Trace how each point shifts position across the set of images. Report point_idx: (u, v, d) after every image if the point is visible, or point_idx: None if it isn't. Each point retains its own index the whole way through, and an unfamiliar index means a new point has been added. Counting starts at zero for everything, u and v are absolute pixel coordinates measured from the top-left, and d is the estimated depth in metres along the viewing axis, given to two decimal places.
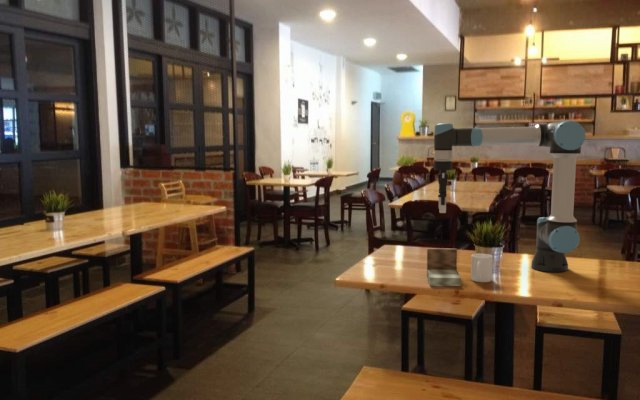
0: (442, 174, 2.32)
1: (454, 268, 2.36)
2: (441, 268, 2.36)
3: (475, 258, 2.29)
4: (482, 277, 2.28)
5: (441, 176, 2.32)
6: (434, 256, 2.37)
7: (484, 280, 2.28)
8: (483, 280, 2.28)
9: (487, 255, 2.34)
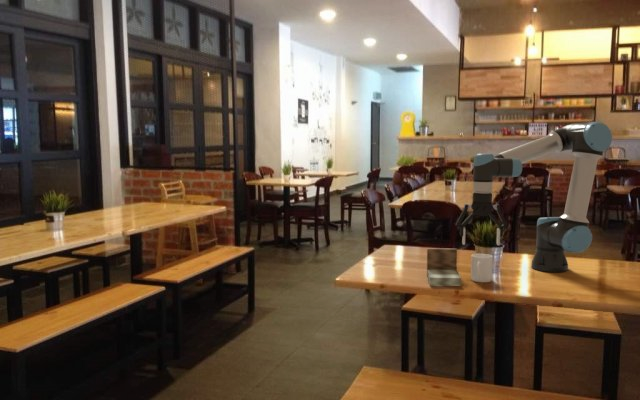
0: (464, 205, 2.28)
1: (454, 268, 2.36)
2: (441, 268, 2.36)
3: (475, 258, 2.29)
4: (482, 277, 2.28)
5: (464, 207, 2.29)
6: (434, 256, 2.37)
7: (484, 280, 2.28)
8: (483, 280, 2.28)
9: (487, 255, 2.34)
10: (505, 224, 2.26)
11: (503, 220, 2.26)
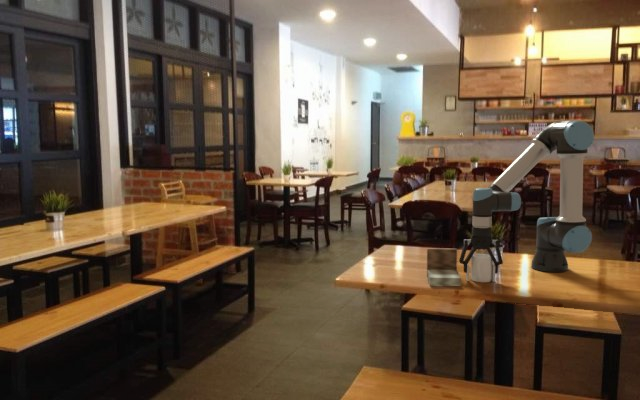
0: (464, 241, 2.30)
1: (454, 268, 2.36)
2: (441, 268, 2.36)
3: (475, 258, 2.29)
4: (482, 277, 2.28)
5: None
6: (434, 256, 2.37)
7: (484, 280, 2.28)
8: (483, 280, 2.28)
9: (487, 255, 2.34)
10: (500, 261, 2.28)
11: (499, 256, 2.28)
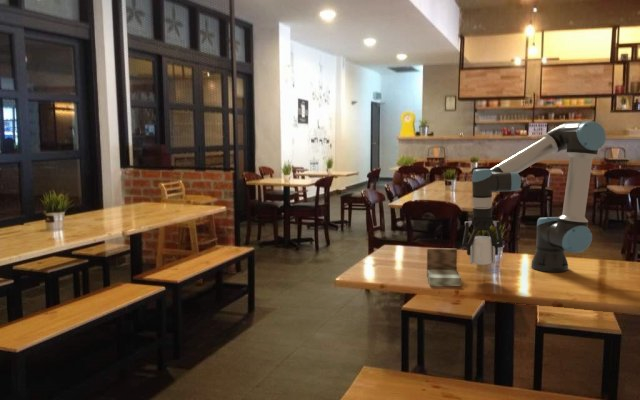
0: (465, 223, 2.29)
1: (454, 268, 2.36)
2: (441, 268, 2.36)
3: (475, 240, 2.28)
4: (482, 259, 2.28)
5: (465, 225, 2.30)
6: (434, 256, 2.37)
7: (484, 262, 2.28)
8: (483, 262, 2.28)
9: (487, 237, 2.33)
10: (500, 242, 2.27)
11: (499, 238, 2.27)
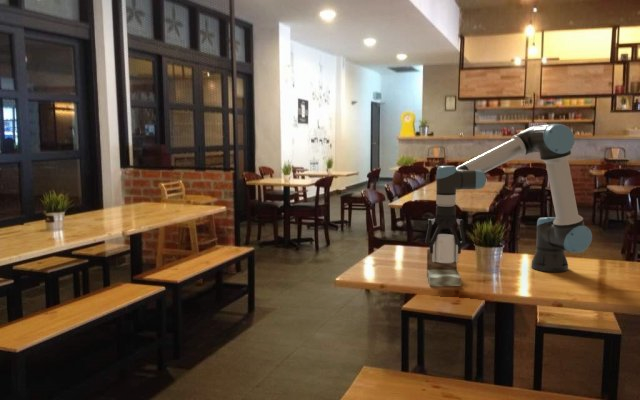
0: (428, 220, 2.25)
1: (454, 268, 2.36)
2: (441, 268, 2.36)
3: (438, 238, 2.24)
4: (444, 257, 2.23)
5: (428, 222, 2.26)
6: None
7: (447, 261, 2.24)
8: (445, 261, 2.24)
9: (451, 235, 2.29)
10: (463, 241, 2.23)
11: (462, 236, 2.23)
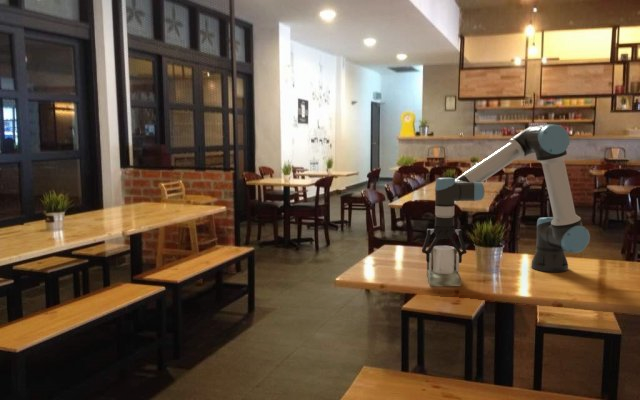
0: (427, 230, 2.29)
1: (454, 268, 2.36)
2: None
3: (437, 249, 2.28)
4: (443, 269, 2.28)
5: None
6: None
7: (445, 272, 2.28)
8: (444, 272, 2.28)
9: (450, 247, 2.33)
10: (464, 250, 2.27)
11: (463, 246, 2.27)
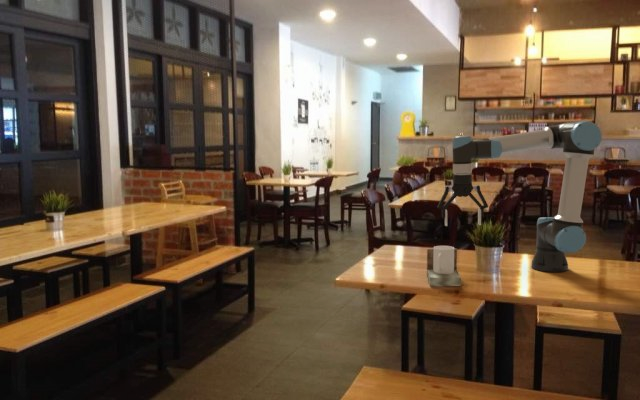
0: (445, 187, 2.34)
1: (454, 268, 2.36)
2: None
3: (437, 249, 2.28)
4: (443, 269, 2.28)
5: (445, 189, 2.34)
6: None
7: (445, 272, 2.28)
8: (444, 272, 2.28)
9: (450, 247, 2.33)
10: (485, 204, 2.31)
11: (483, 200, 2.31)
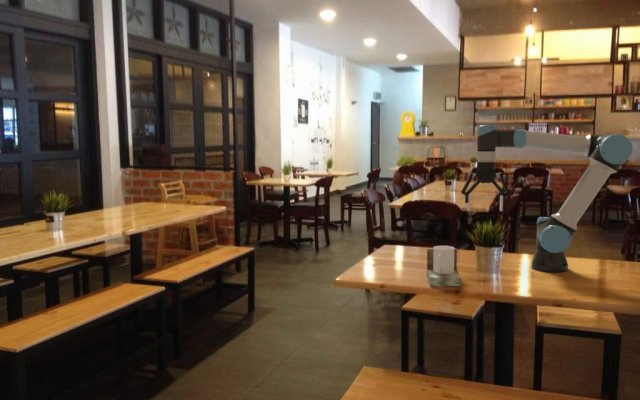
0: (469, 173, 2.43)
1: (454, 268, 2.36)
2: None
3: (437, 249, 2.28)
4: (443, 269, 2.28)
5: None
6: None
7: (445, 272, 2.28)
8: (444, 272, 2.28)
9: (450, 247, 2.33)
10: (507, 191, 2.41)
11: (506, 187, 2.41)
